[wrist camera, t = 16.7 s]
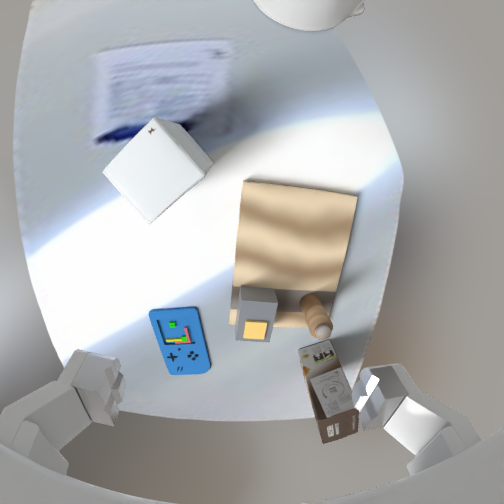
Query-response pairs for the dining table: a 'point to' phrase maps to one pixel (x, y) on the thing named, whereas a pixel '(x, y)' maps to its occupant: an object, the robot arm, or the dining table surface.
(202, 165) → the supplement box
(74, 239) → the dining table surface
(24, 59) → the dining table surface
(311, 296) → the marker peg
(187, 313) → the handheld gaming device
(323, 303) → the plywood board
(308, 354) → the brown food box
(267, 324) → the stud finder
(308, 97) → the dining table surface
